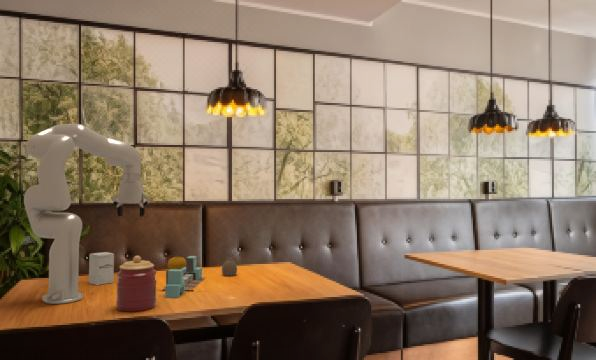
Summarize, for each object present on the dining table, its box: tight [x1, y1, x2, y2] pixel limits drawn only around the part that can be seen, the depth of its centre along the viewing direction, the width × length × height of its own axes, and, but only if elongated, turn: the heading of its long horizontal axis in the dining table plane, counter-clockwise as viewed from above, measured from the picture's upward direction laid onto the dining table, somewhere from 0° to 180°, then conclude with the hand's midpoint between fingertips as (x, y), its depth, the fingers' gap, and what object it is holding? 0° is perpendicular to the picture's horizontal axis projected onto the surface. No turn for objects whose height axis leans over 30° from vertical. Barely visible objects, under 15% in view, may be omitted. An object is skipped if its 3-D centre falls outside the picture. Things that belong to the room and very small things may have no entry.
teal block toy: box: [164, 269, 186, 299], centre depth 168 cm, size 8×6×10 cm
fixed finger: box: [181, 255, 203, 280], centre depth 193 cm, size 8×6×10 cm
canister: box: [115, 255, 158, 313], centre depth 152 cm, size 13×13×18 cm
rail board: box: [162, 273, 207, 293], centre depth 185 cm, size 22×12×4 cm, turn 177°
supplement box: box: [88, 251, 115, 286], centre depth 188 cm, size 7×7×13 cm
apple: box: [166, 256, 186, 270], centre depth 205 cm, size 9×9×9 cm
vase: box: [221, 257, 238, 277], centre depth 202 cm, size 7×7×9 cm
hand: (131, 216), depth 197 cm, fingers open, 9 cm apart
